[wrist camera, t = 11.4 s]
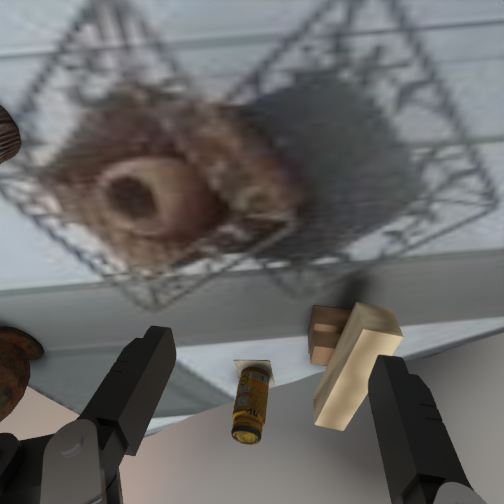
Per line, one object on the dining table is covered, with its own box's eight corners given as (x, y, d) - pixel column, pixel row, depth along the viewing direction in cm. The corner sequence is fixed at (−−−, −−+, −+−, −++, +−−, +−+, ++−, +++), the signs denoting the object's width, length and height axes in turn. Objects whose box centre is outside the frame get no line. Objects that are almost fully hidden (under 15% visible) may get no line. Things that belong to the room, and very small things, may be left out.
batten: (392, 308, 35) (403, 336, 31) (339, 402, 47) (343, 430, 43) (356, 302, 35) (363, 329, 31) (313, 396, 47) (314, 424, 43)
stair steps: (377, 312, 44) (389, 348, 38) (366, 341, 48) (375, 378, 42) (313, 305, 45) (316, 339, 39) (307, 334, 49) (309, 369, 43)
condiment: (241, 384, 60) (230, 446, 50) (234, 359, 56) (220, 421, 46) (275, 385, 59) (270, 449, 49) (269, 359, 54) (263, 423, 44)
